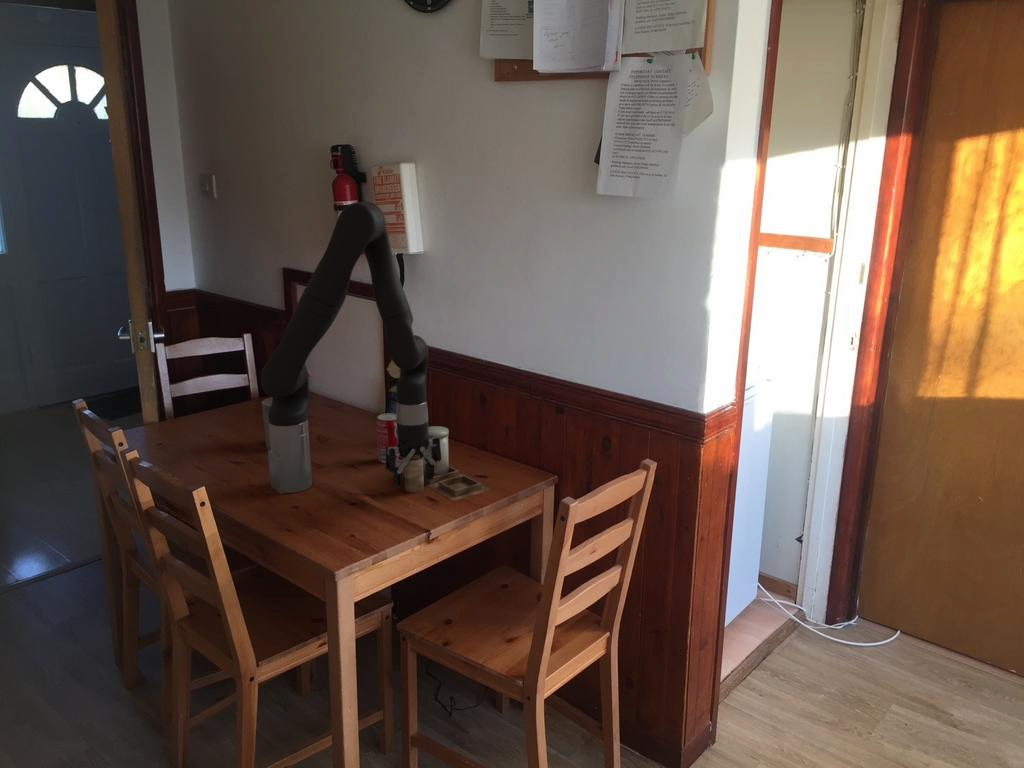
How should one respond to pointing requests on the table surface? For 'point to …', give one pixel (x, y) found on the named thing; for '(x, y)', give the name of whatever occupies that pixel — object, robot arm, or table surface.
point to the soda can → (386, 434)
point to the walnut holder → (455, 485)
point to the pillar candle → (267, 420)
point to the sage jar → (443, 464)
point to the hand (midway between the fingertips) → (414, 482)
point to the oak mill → (414, 475)
